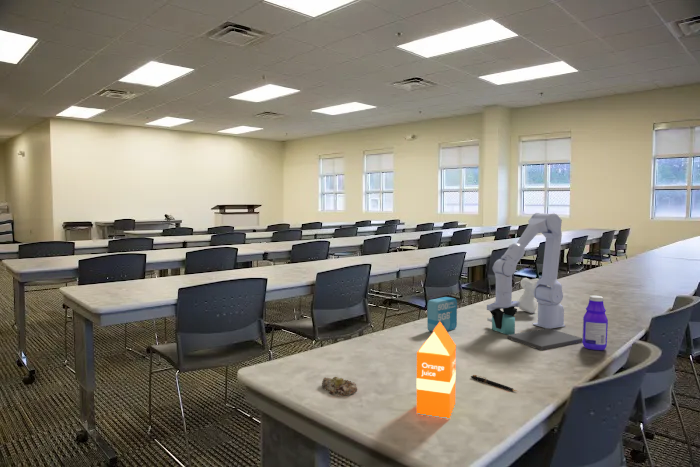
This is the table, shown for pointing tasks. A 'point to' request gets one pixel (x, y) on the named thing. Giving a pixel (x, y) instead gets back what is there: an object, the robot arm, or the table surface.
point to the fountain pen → (491, 383)
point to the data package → (442, 313)
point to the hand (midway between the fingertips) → (503, 327)
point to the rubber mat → (545, 338)
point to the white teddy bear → (528, 295)
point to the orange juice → (436, 374)
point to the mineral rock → (339, 386)
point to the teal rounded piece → (504, 324)
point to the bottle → (595, 324)
